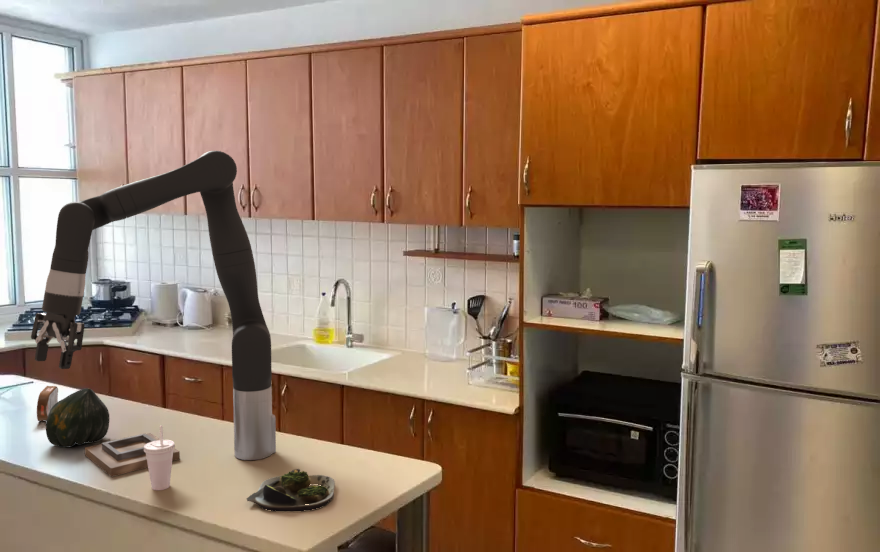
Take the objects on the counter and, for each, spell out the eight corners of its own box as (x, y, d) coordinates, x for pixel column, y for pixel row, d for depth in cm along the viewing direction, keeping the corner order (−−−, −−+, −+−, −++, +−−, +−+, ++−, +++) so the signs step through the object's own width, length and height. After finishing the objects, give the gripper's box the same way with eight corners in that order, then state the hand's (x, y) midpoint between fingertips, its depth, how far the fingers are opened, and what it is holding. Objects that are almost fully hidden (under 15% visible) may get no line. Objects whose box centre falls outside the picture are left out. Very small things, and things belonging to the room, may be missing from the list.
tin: (48, 409, 207) (47, 382, 206) (60, 409, 208) (59, 381, 207) (35, 425, 192) (34, 396, 192) (48, 424, 193) (47, 395, 193)
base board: (150, 440, 182) (149, 427, 181) (179, 459, 169) (179, 445, 168) (85, 455, 170) (84, 441, 170) (111, 476, 158) (110, 462, 157)
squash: (24, 426, 175) (53, 386, 171) (72, 411, 189) (101, 374, 185) (56, 468, 172) (87, 428, 168) (103, 450, 187) (132, 413, 183)
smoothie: (165, 494, 149) (163, 431, 147) (138, 491, 150) (136, 428, 149) (182, 482, 155) (180, 421, 154) (156, 479, 156) (154, 419, 155)
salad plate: (262, 476, 160) (261, 457, 159) (339, 476, 161) (339, 456, 160) (242, 514, 141) (242, 492, 140) (331, 513, 142) (330, 491, 141)
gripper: (100, 298, 152) (88, 370, 152) (60, 288, 158) (48, 357, 158) (69, 296, 145) (55, 372, 145) (28, 285, 152) (15, 358, 151)
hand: (52, 364), depth 151 cm, fingers open, 8 cm apart
